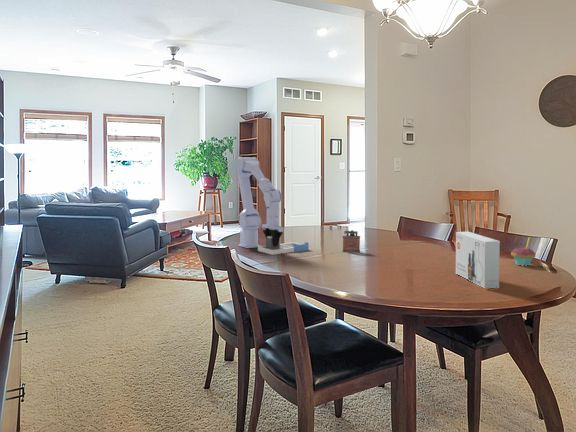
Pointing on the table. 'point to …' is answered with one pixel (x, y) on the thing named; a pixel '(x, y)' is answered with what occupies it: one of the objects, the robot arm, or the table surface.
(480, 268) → the skincare box
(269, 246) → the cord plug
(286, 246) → the white cubby shelf
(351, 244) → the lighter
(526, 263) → the cupcake
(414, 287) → the table surface
